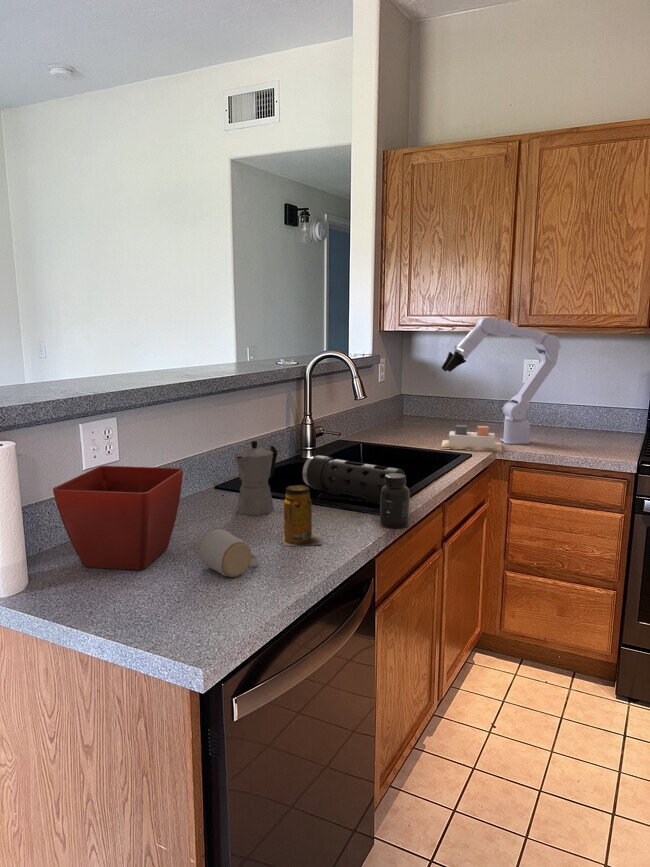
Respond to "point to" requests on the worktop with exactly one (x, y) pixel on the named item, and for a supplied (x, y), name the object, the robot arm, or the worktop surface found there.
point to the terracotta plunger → (483, 431)
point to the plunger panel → (471, 440)
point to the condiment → (298, 518)
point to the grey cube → (461, 429)
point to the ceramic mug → (226, 553)
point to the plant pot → (120, 514)
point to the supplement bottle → (394, 502)
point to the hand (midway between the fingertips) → (445, 370)
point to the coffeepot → (255, 479)
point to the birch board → (496, 447)
